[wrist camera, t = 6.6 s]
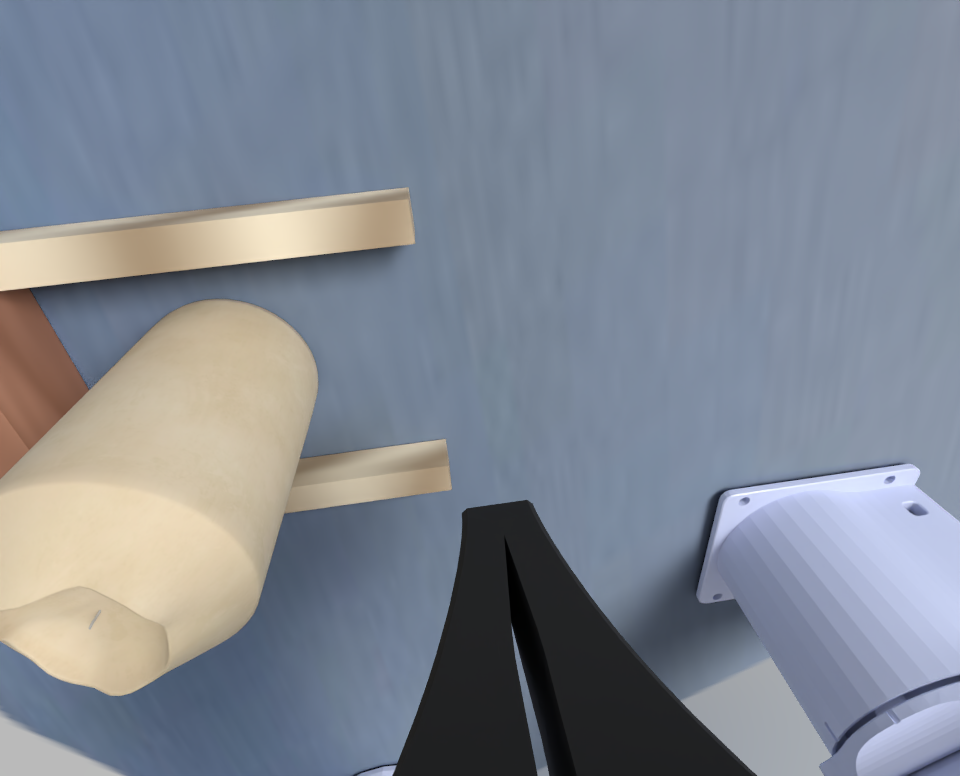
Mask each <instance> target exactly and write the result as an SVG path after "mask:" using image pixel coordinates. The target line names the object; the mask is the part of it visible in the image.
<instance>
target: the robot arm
mask: <svg viewBox="0 0 960 776" xmlns="http://www.w3.org/2000/svg"><path fill="white" fill-rule="evenodd" d="M919 475H920V470H919V469H918V468H917V467H915V466H914V465H912V464H903V465H897V466H890V467H883V468H876V469H869V470H862V471H856V472H849V473H842V474H835V475H828V476H822V477H815V478H808V479H801V480H794V481H787V482H781V483H774V484H767V485H760V486H753V487H746V488H740V489H733V490H728V491H726V492H724V493H723V494H722V495H721V496H720V498H719V502H718V506H717V510H716V514H715V518H714V522H713V527H712V531H711V535H710V539H709V543H708V547H707V551H706V556H705V560H704V564H703V568H702V572H701V576H700V580H699V584H698V589H697V593H696V596H697V598H698V600H699V601H700V602H701V603H712V602H718V601H725V600H731V599H736V601H737V603H738V604H739V606H740V607H741V609H742V611H743V612H744V614H745V616H746V617H747V619H748V620H749V622H750V624H751V625H752V627H753V629H754V630H755V632H756V633H757V635H758V637H759V638H760V640H761V642H762V643H763V645H764V646H765V648H766V650H767V651H768V653H769V655H770V656H771V658H772V659H773V661H774V663H775V664H776V666H777V667H778V669H779V671H780V672H781V674H782V676H783V677H784V679H785V680H786V682H787V684H788V685H789V687H790V689H791V690H792V692H793V694H794V695H795V697H796V698H797V700H798V702H799V703H800V705H801V707H802V708H803V710H804V711H805V713H806V715H807V716H808V718H809V720H810V721H811V723H812V724H813V726H814V728H815V729H816V731H817V733H818V734H819V736H820V737H821V739H822V741H823V742H824V744H825V746H826V747H827V749H828V751H829V752H830V754H831V755H832V757H831V758H830V759H828V760H826V761H825V762H823V763H821V764H820V766H819V768H820V769H821V771H822V773H823V774H824V776H960V522H959V521H958V520H957V519H955V518H954V517H953V516H952V515H951V514H949V513H948V512H947V511H946V510H944V509H943V508H942V507H941V506H940V505H938V504H937V503H936V502H935V501H934V500H932V499H931V498H930V497H929V496H927V495H926V494H925V493H924V492H923V491H921V490H920V489H919V488H918V487H917V486H915V483H916V481H917V479H918V477H919ZM511 623H512V626H511ZM512 627H513V631H514V635H515V638H516V642H517V646H518V650H519V654H520V658H521V662H522V665H523V669H524V673H525V677H526V681H527V685H528V688H529V692H530V696H531V700H532V704H533V708H534V711H535V715H536V719H537V723H538V727H539V731H540V734H541V738H542V743H543V747H544V752H545V756H546V761H547V765H548V771H549V776H757V775H756V774H755V773H753V772H752V771H751V770H750V769H749V768H748V767H747V766H746V765H745V764H744V763H743V762H742V761H741V760H740V759H739V758H738V757H737V756H736V755H735V754H734V753H733V752H731V751H730V749H728V748H727V747H726V746H725V745H724V744H723V743H722V742H721V741H720V740H719V739H718V738H717V737H716V736H715V735H714V734H713V733H712V732H711V731H710V730H709V729H708V728H707V727H706V726H705V725H703V723H702V722H700V721H699V720H698V719H697V718H696V717H695V716H694V715H693V714H692V713H691V712H690V711H689V710H688V709H687V708H686V707H685V705H684V704H683V703H682V702H681V701H680V700H679V699H678V698H677V697H676V696H675V695H674V694H673V693H672V692H671V691H670V690H669V689H668V688H667V687H666V686H665V684H664V683H663V682H662V681H661V680H660V679H659V678H658V677H657V676H656V675H655V674H654V672H653V671H652V670H651V669H650V668H649V667H648V666H647V665H646V664H645V662H644V661H643V660H642V659H641V658H640V657H639V656H638V655H637V653H636V652H635V651H634V650H633V649H632V648H631V646H630V645H629V644H628V643H627V642H626V640H625V639H624V638H623V637H622V636H621V634H620V633H619V632H618V631H617V630H616V628H615V627H614V626H613V625H612V623H611V622H610V621H609V620H608V618H607V617H606V616H605V615H604V613H603V612H602V611H601V609H600V608H599V607H598V606H597V604H596V603H595V602H594V600H593V599H592V598H591V596H590V595H589V594H588V592H587V591H586V589H585V588H584V587H583V585H582V584H581V582H580V581H579V580H578V578H577V577H576V575H575V574H574V573H573V571H572V570H571V568H570V567H569V565H568V564H567V562H566V561H565V559H564V558H563V557H562V555H561V553H560V552H559V550H558V549H557V547H556V545H555V544H554V542H553V541H552V539H551V537H550V536H549V534H548V532H547V531H546V529H545V527H544V525H543V524H542V522H541V520H540V518H539V516H538V514H537V512H536V510H535V508H534V506H533V504H532V503H531V502H529V501H528V500H524V501H517V502H510V503H502V504H495V505H488V506H481V507H474V508H467V509H466V510H465V511H464V512H463V513H462V539H461V548H460V555H459V561H458V568H457V573H456V578H455V582H454V587H453V592H452V597H451V601H450V606H449V610H448V614H447V618H446V621H445V625H444V628H443V632H442V636H441V639H440V643H439V646H438V650H437V654H436V657H435V660H434V663H433V667H432V670H431V673H430V676H429V679H428V682H427V685H426V688H425V691H424V694H423V697H422V700H421V702H420V705H419V708H418V711H417V714H416V716H415V719H414V722H413V724H412V727H411V730H410V732H409V735H408V737H407V740H406V743H405V745H404V748H403V750H402V753H401V755H400V758H399V761H398V763H397V766H396V768H395V770H394V773H393V775H392V776H537V771H536V765H535V760H534V755H533V750H532V744H531V739H530V734H529V729H528V724H527V718H526V713H525V708H524V702H523V697H522V692H521V686H520V681H519V676H518V670H517V665H516V660H515V652H514V645H513V637H512Z"/></svg>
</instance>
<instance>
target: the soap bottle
mask: <svg viewBox="0 0 960 776" xmlns="http://www.w3.org/2000/svg"><path fill="white" fill-rule="evenodd" d="M396 766H397V765H394V766H385V767H381V768H377V769H374V770H370V771H367V772H364V773H360V774H359V775H357V776H392V775H393V773H394V770H395V768H396Z"/></svg>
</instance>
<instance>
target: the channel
mask: <svg viewBox="0 0 960 776" xmlns="http://www.w3.org/2000/svg"><path fill="white" fill-rule="evenodd" d="M409 244H415V229H414V222H413V215H412V208H411V202H410V195H409V188H408V187H407V188H398V189H389V190H379V191H370V192H361V193H352V194H342V195H333V196H324V197H314V198H305V199H296V200H287V201H277V202H268V203H259V204H250V205H240V206H231V207H222V208H212V209H203V210H194V211H185V212H175V213H166V214H157V215H147V216H138V217H129V218H120V219H110V220H101V221H92V222H82V223H73V224H64V225H55V226H45V227H36V228H27V229H17V230H8V231H0V479H1V478H2V477H3V476H4V475H5V474H6V473H7V472H8V471H9V470H10V469H11V468H12V467H13V466H14V465H15V464H16V463H17V462H18V461H19V460H20V459H21V458H22V457H23V456H24V455H25V454H26V453H27V452H28V451H29V450H30V449H31V448H32V447H33V446H34V445H35V444H36V443H37V442H38V441H39V440H40V439H41V438H42V437H43V436H44V435H45V434H46V433H47V432H48V431H49V430H50V429H51V428H52V427H53V426H54V425H55V424H56V423H57V422H58V421H59V420H60V419H61V418H62V417H63V416H64V415H65V414H66V413H67V412H68V411H69V410H70V409H71V408H72V407H73V406H74V405H75V404H76V403H77V402H78V401H79V400H80V399H81V398H82V397H83V396H84V395H85V394H86V393H87V392H88V391H89V389H88V387H87V386H86V384H85V382H84V381H83V379H82V377H81V376H80V374H79V372H78V371H77V369H76V367H75V365H74V364H73V362H72V360H71V359H70V357H69V355H68V354H67V352H66V350H65V349H64V347H63V345H62V343H61V342H60V340H59V338H58V337H57V335H56V333H55V332H54V330H53V328H52V327H51V325H50V323H49V321H48V320H47V318H46V316H45V315H44V313H43V311H42V310H41V308H40V306H39V305H38V303H37V301H36V299H35V298H34V296H33V294H32V293H31V291H30V289H29V288H32V287H40V286H49V285H58V284H67V283H76V282H84V281H93V280H102V279H111V278H119V277H128V276H137V275H146V274H154V273H163V272H172V271H181V270H189V269H198V268H207V267H216V266H225V265H233V264H242V263H251V262H260V261H268V260H277V259H286V258H295V257H303V256H312V255H321V254H330V253H338V252H347V251H356V250H365V249H374V248H382V247H391V246H400V245H409ZM446 490H452V487H451V477H450V467H449V459H448V452H447V445H446V439H442V440H435V441H427V442H420V443H413V444H405V445H398V446H391V447H383V448H376V449H368V450H361V451H354V452H346V453H339V454H332V455H324V456H317V457H310V458H302V459H299V462H298V466H297V469H296V473H295V476H294V480H293V483H292V487H291V491H290V494H289V498H288V501H287V505H286V508H285V512H284V513H291V512H298V511H305V510H312V509H319V508H326V507H333V506H340V505H348V504H355V503H362V502H369V501H376V500H383V499H390V498H397V497H404V496H411V495H418V494H425V493H432V492H439V491H446Z"/></svg>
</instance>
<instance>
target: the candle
mask: <svg viewBox="0 0 960 776" xmlns="http://www.w3.org/2000/svg"><path fill="white" fill-rule="evenodd" d="M317 393H318V372H317V367H316V363H315V360H314V357H313V355H312V352H311V350H310V349H309V347H308V345H307V343H306V342H305V341H304V339H303V338H302V337H301V335H300V334H299V333H298V332H297V331H296V330H295V329H294V328H293V327H292V326H290V325H289V324H288V323H287V322H286V321H284V320H283V319H281V318H280V317H278V316H277V315H275V314H274V313H272V312H270V311H268V310H266V309H264V308H261V307H259V306H256V305H253V304H250V303H246V302H243V301H237V300H231V299H207V300H201V301H196V302H193V303H190V304H187V305H184V306H182V307H180V308H178V309H176V310H174V311H173V312H171V313H169V314H168V315H166V316H165V317H164V318H162V319H161V320H160V321H159V322H158V323H157V324H156V325H155V326H153V327H152V328H151V329H150V330H149V331H148V332H147V333H146V334H145V335H144V336H143V337H142V338H141V339H140V340H139V341H138V342H137V343H136V344H135V345H134V346H133V347H132V348H131V349H130V350H129V351H128V352H127V353H126V354H125V355H124V356H123V357H122V358H121V359H120V360H119V361H118V362H117V363H116V364H115V365H114V366H113V367H112V368H111V369H110V370H109V371H108V372H107V373H106V374H105V375H104V376H103V377H102V378H101V379H100V380H99V381H98V382H97V383H96V384H95V385H94V386H93V387H92V388H91V389H90V390H89V391H88V392H87V393H86V394H85V395H84V396H83V397H82V398H81V399H80V400H79V401H78V402H77V403H76V404H75V405H74V406H73V407H72V408H71V409H70V410H69V411H68V412H67V413H66V414H65V415H64V416H63V417H62V418H61V419H60V420H59V421H58V422H57V423H56V424H55V425H54V426H53V427H52V428H51V429H50V430H49V431H48V432H47V433H46V434H45V435H44V436H43V437H42V438H41V439H40V440H39V441H38V442H37V443H36V444H35V445H34V446H33V447H32V448H31V449H30V450H29V451H28V452H27V453H26V454H25V455H24V456H23V457H22V458H21V459H20V460H19V461H18V462H17V463H16V464H15V465H14V466H13V467H12V468H11V469H10V470H9V471H8V472H7V473H6V474H5V475H4V476H3V477H2V478H1V479H0V641H1V642H3V643H4V644H6V645H7V646H9V647H10V648H12V649H14V650H15V651H17V652H19V653H21V654H22V655H24V656H25V657H27V658H29V659H30V660H31V661H33V662H34V663H35V664H36V665H38V666H39V667H40V668H41V669H43V670H44V671H45V672H46V673H48V674H49V675H51V676H53V677H55V678H57V679H59V680H62V681H66V682H69V683H72V684H77V685H83V686H88V687H93V688H95V689H97V690H99V691H101V692H103V693H106V694H108V695H110V696H123V695H126V694H130V693H132V692H135V691H137V690H139V689H141V688H142V687H144V686H146V685H147V684H149V683H151V682H152V681H154V680H156V679H157V678H159V677H160V676H162V675H164V674H165V673H167V672H169V671H171V670H172V669H174V668H176V667H178V666H180V665H182V664H184V663H186V662H187V661H189V660H191V659H193V658H195V657H197V656H199V655H200V654H202V653H204V652H206V651H208V650H209V649H211V648H213V647H215V646H217V645H218V644H220V643H222V642H224V641H225V640H227V639H229V638H230V637H231V636H233V635H234V634H236V633H237V632H238V631H239V630H240V629H241V628H243V627H244V626H245V625H246V624H247V622H248V621H249V620H250V618H251V617H252V616H253V614H254V612H255V610H256V608H257V606H258V603H259V599H260V596H261V592H262V589H263V585H264V582H265V578H266V575H267V571H268V568H269V564H270V561H271V557H272V554H273V550H274V547H275V543H276V540H277V536H278V533H279V529H280V526H281V522H282V519H283V515H284V512H285V508H286V505H287V501H288V498H289V494H290V491H291V487H292V483H293V480H294V476H295V473H296V469H297V466H298V462H299V459H300V455H301V452H302V448H303V445H304V441H305V438H306V434H307V431H308V427H309V424H310V420H311V417H312V413H313V409H314V405H315V401H316V397H317Z"/></svg>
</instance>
